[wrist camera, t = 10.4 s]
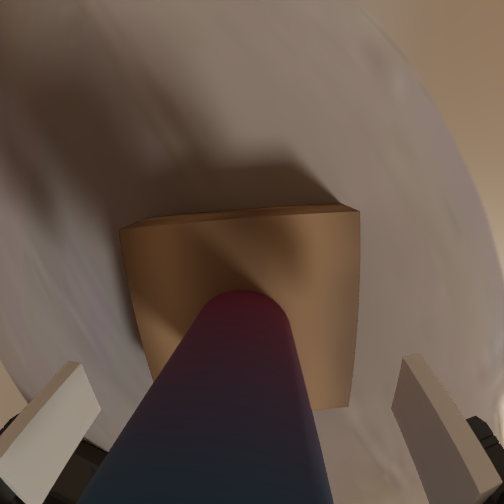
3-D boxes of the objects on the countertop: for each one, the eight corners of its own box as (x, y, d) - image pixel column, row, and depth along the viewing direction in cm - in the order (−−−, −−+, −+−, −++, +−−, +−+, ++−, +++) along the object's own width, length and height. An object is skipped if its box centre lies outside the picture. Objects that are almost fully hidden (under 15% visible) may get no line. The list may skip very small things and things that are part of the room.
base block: (177, 376, 21) (162, 409, 17) (147, 218, 18) (118, 229, 15) (337, 370, 20) (348, 406, 17) (341, 203, 17) (359, 211, 14)
